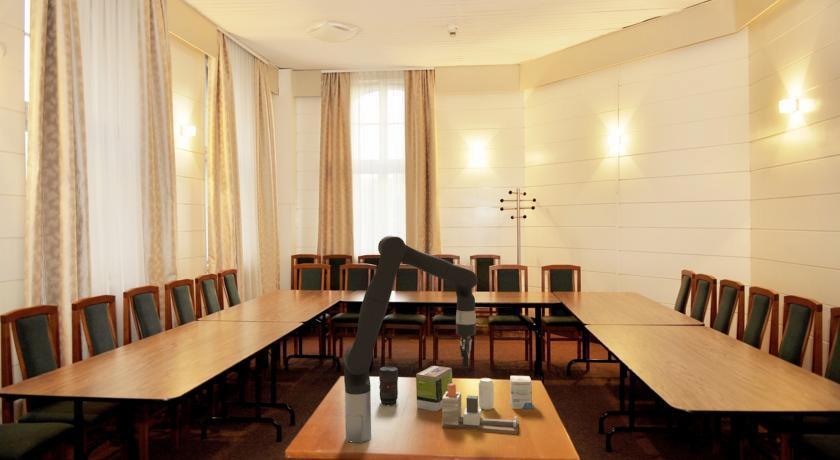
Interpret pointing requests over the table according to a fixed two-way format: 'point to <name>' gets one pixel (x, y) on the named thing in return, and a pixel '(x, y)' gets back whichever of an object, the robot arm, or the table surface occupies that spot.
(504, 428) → the rail board
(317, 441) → the table surface
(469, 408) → the carriage
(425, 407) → the tea box
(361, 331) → the robot arm
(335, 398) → the table surface
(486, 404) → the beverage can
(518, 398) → the ink box
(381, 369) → the camera lens
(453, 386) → the cylinder
